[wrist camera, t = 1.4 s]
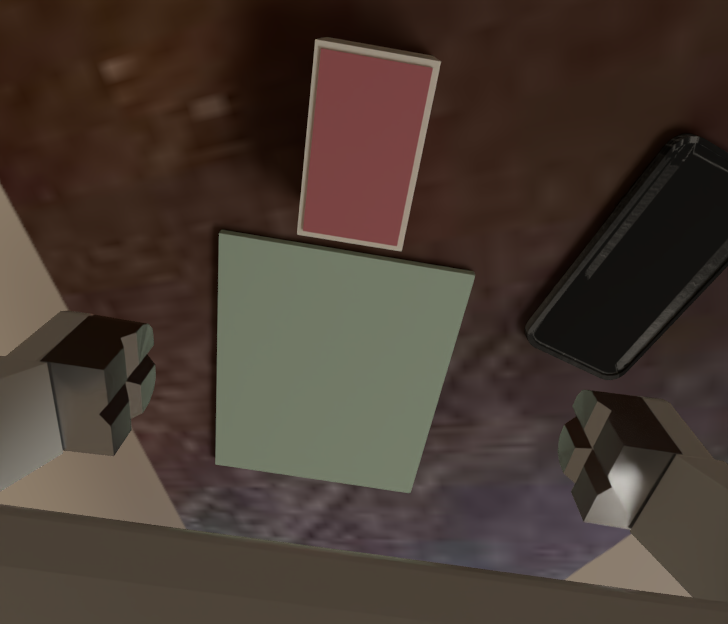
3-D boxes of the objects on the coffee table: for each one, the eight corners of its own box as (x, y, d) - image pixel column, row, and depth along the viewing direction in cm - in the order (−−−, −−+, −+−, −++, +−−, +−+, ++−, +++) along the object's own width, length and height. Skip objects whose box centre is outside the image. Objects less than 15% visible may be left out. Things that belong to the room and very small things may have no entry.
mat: (221, 229, 31) (218, 233, 31) (474, 271, 32) (475, 275, 31) (217, 458, 41) (215, 464, 41) (410, 487, 42) (410, 493, 41)
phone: (796, 194, 28) (614, 385, 35) (782, 188, 29) (608, 375, 36) (685, 127, 26) (518, 340, 33) (674, 123, 27) (515, 331, 34)
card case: (327, 37, 26) (314, 39, 21) (432, 55, 26) (441, 62, 22) (310, 204, 30) (296, 235, 26) (400, 219, 31) (401, 252, 26)
